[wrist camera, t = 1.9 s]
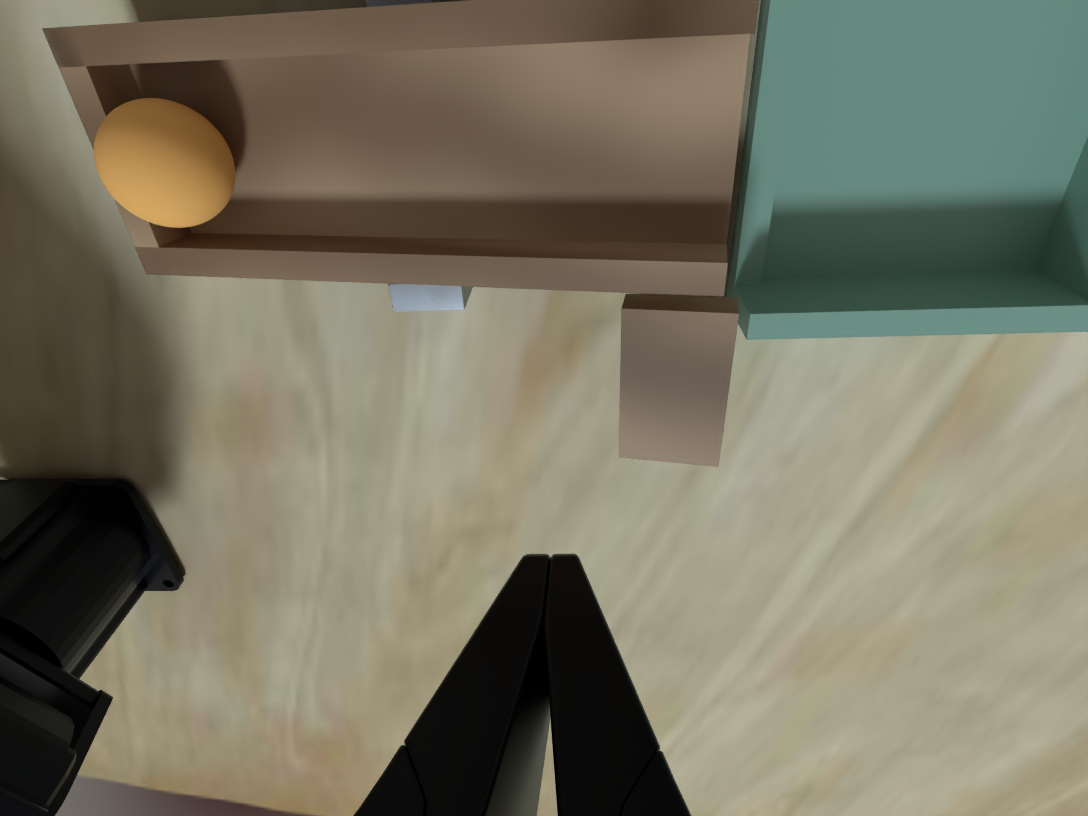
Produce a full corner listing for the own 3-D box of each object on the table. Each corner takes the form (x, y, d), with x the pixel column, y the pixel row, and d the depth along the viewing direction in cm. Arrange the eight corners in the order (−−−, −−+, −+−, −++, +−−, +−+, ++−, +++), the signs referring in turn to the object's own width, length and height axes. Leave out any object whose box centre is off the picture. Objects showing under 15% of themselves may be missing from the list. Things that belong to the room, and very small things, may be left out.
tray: (1044, 289, 19) (1113, 330, 17) (725, 298, 20) (746, 339, 18) (1242, -182, 13) (1394, -225, 11) (778, -146, 14) (822, -179, 12)
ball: (272, 208, 17) (205, 243, 15) (177, 209, 18) (97, 243, 15) (237, 88, 15) (155, 104, 13) (134, 93, 16) (36, 109, 13)
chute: (718, 446, 19) (718, 495, 17) (258, 406, 23) (218, 442, 21) (778, -19, 13) (790, -22, 11) (119, 25, 16) (42, 28, 14)
